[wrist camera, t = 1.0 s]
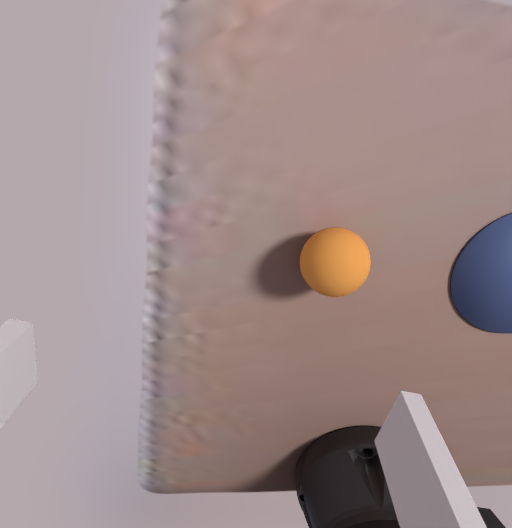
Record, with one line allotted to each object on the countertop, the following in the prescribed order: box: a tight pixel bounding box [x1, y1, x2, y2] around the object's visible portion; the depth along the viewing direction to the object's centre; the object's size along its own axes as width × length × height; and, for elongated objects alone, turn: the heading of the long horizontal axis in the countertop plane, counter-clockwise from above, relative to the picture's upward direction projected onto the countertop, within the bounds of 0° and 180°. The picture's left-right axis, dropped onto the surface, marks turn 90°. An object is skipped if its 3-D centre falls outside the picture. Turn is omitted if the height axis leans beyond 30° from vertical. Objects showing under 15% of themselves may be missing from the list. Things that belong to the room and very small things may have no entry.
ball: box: [300, 227, 371, 297], centre depth 28 cm, size 6×6×6 cm
